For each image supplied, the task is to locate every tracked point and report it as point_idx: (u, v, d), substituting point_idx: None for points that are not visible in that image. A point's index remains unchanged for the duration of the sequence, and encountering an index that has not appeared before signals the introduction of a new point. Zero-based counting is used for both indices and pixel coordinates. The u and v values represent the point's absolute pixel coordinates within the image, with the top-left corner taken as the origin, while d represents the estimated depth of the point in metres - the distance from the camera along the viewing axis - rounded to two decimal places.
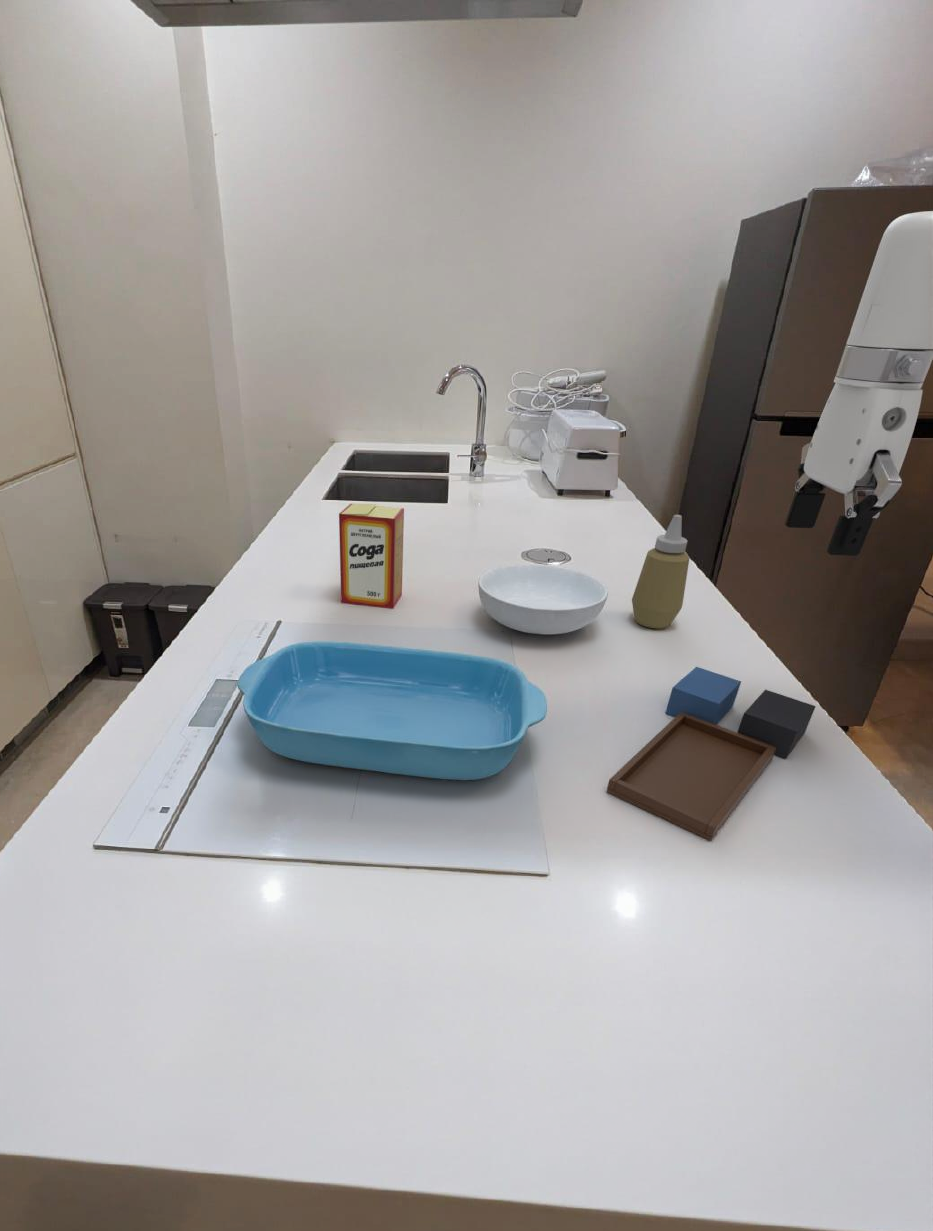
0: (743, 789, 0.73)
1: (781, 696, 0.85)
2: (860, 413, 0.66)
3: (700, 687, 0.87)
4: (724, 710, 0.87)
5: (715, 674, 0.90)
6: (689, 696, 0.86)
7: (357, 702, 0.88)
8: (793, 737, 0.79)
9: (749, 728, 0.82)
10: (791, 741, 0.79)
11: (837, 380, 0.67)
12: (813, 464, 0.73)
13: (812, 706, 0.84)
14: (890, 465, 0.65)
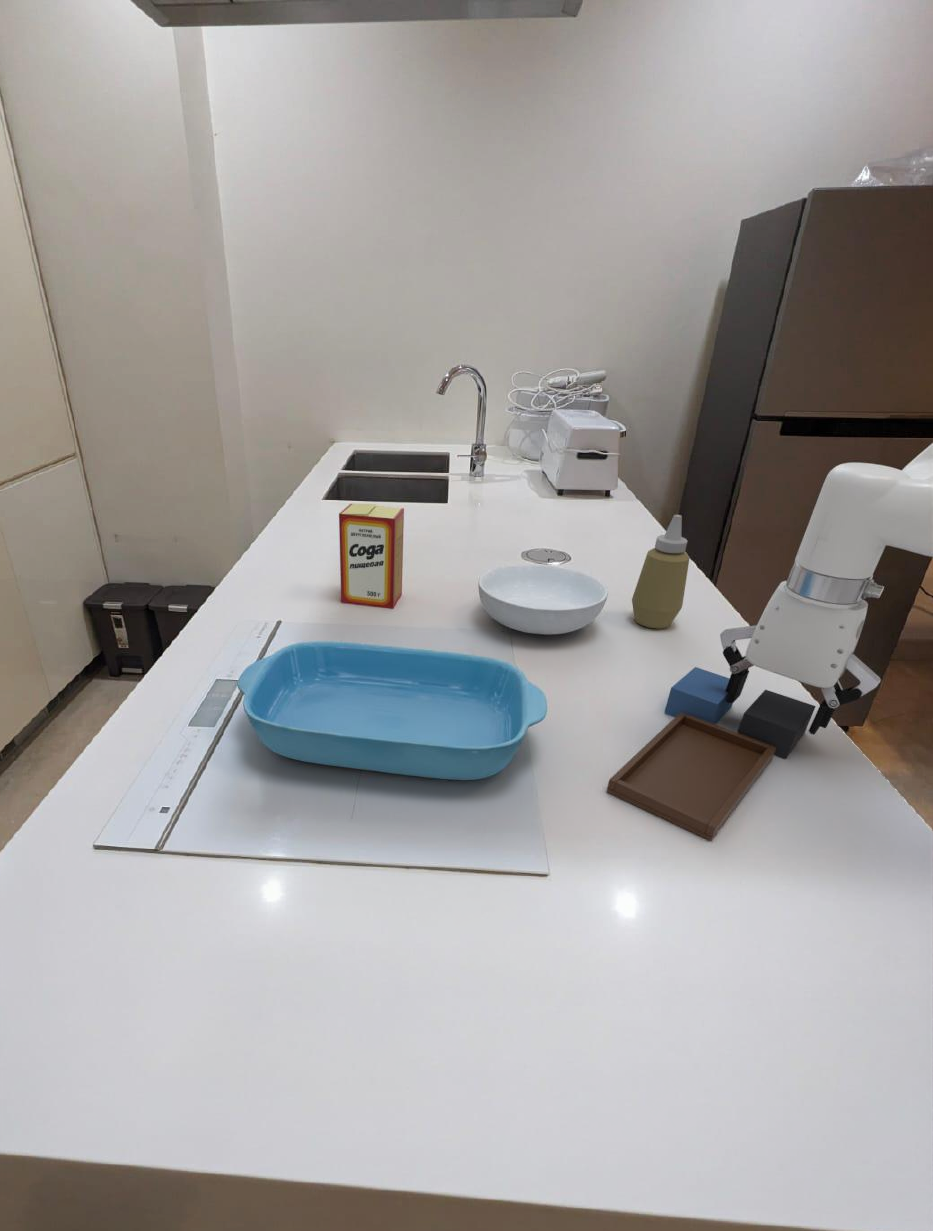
0: (743, 789, 0.73)
1: (781, 696, 0.85)
2: (837, 628, 0.73)
3: (699, 687, 0.87)
4: (723, 710, 0.88)
5: (714, 674, 0.90)
6: (687, 696, 0.86)
7: (357, 702, 0.88)
8: (793, 737, 0.79)
9: (749, 728, 0.82)
10: (791, 741, 0.79)
11: (809, 601, 0.73)
12: (768, 659, 0.79)
13: (812, 706, 0.84)
14: (864, 665, 0.75)
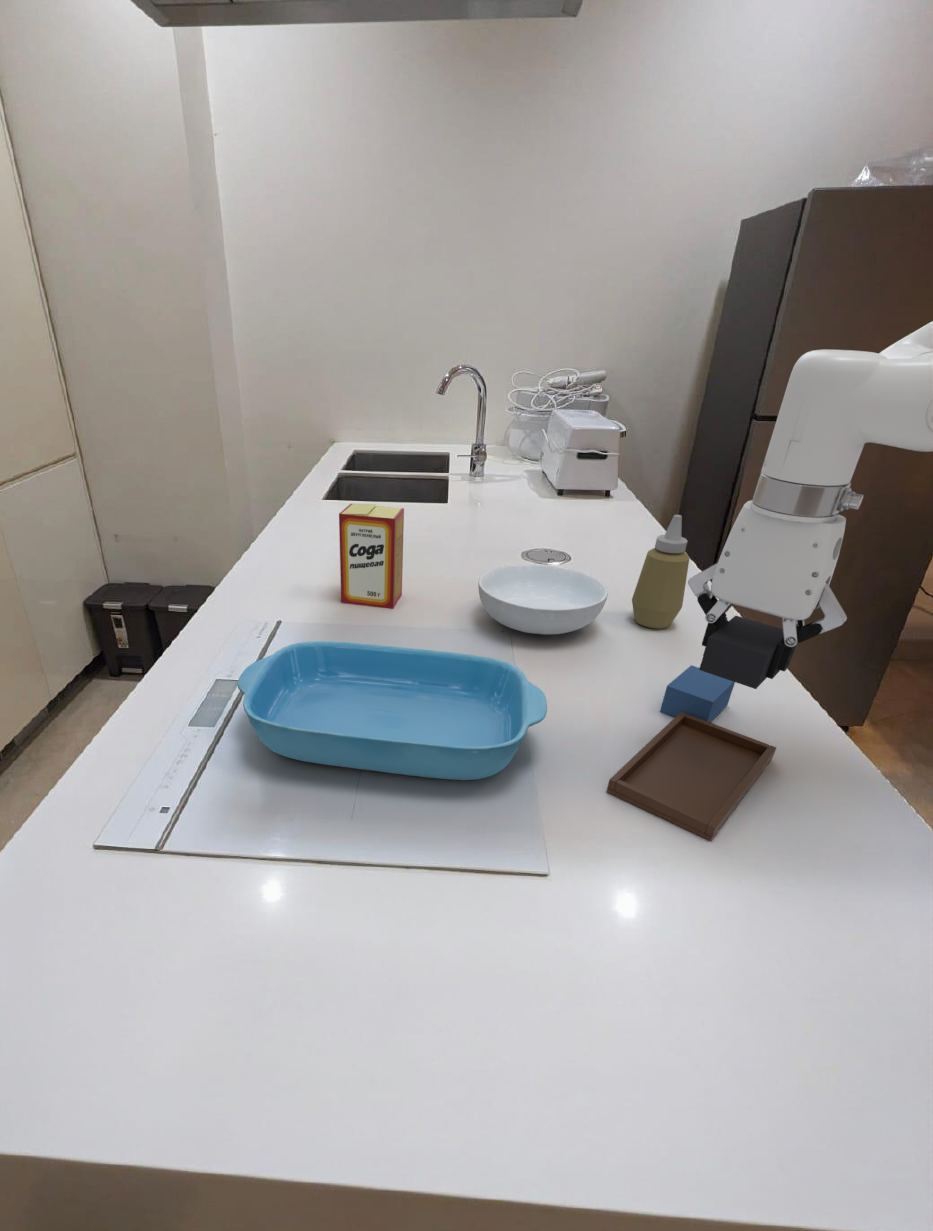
0: (743, 789, 0.73)
1: (753, 622, 0.75)
2: (811, 547, 0.63)
3: (695, 685, 0.87)
4: (718, 708, 0.88)
5: None
6: (683, 694, 0.86)
7: (357, 702, 0.88)
8: (764, 662, 0.68)
9: (715, 655, 0.72)
10: (762, 667, 0.69)
11: (777, 515, 0.63)
12: (735, 590, 0.69)
13: None
14: (834, 598, 0.66)
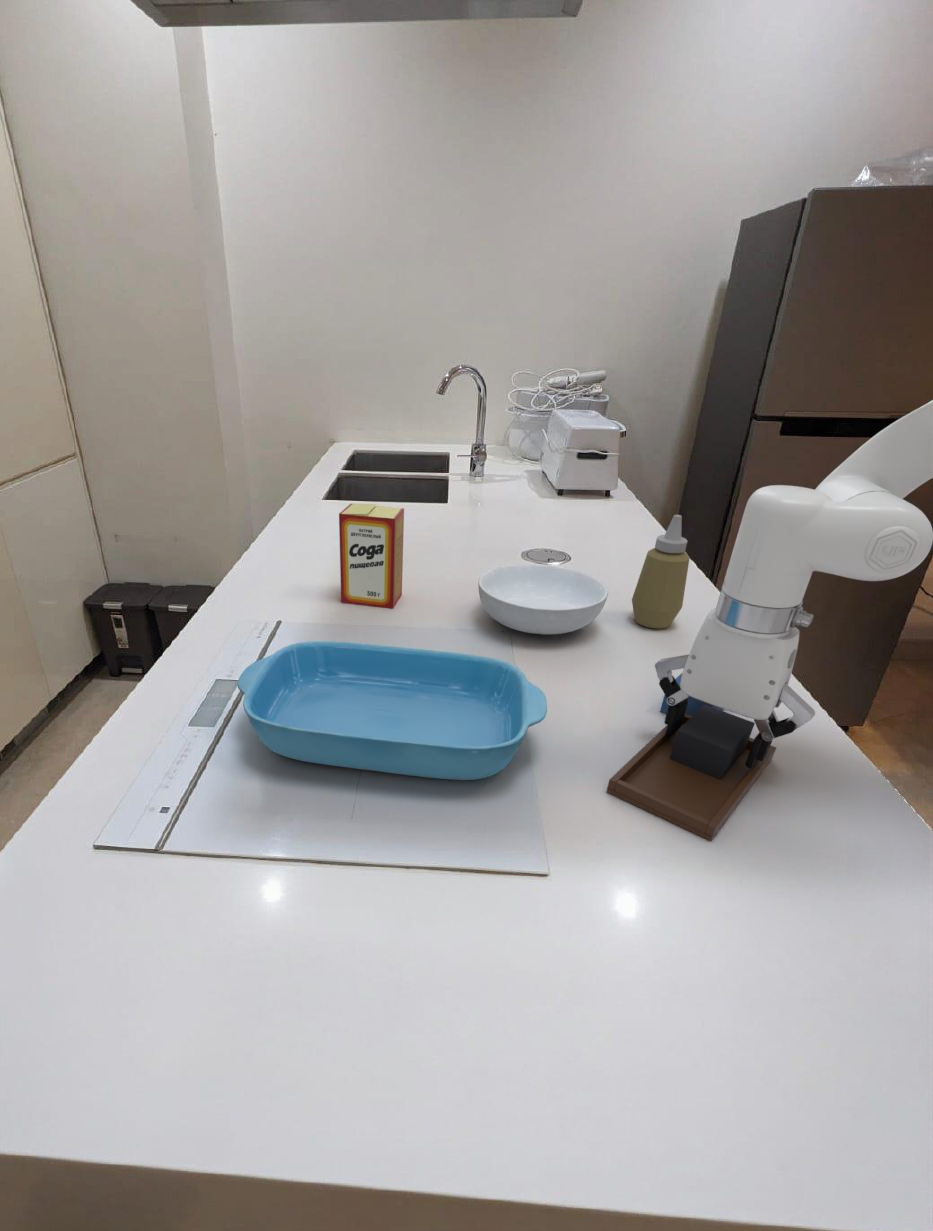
0: (743, 789, 0.73)
1: (719, 712, 0.81)
2: (767, 659, 0.69)
3: None
4: (718, 708, 0.88)
5: None
6: None
7: (357, 702, 0.88)
8: (727, 757, 0.74)
9: (683, 747, 0.77)
10: (725, 761, 0.75)
11: (736, 630, 0.69)
12: (702, 690, 0.75)
13: (751, 722, 0.79)
14: (798, 696, 0.71)
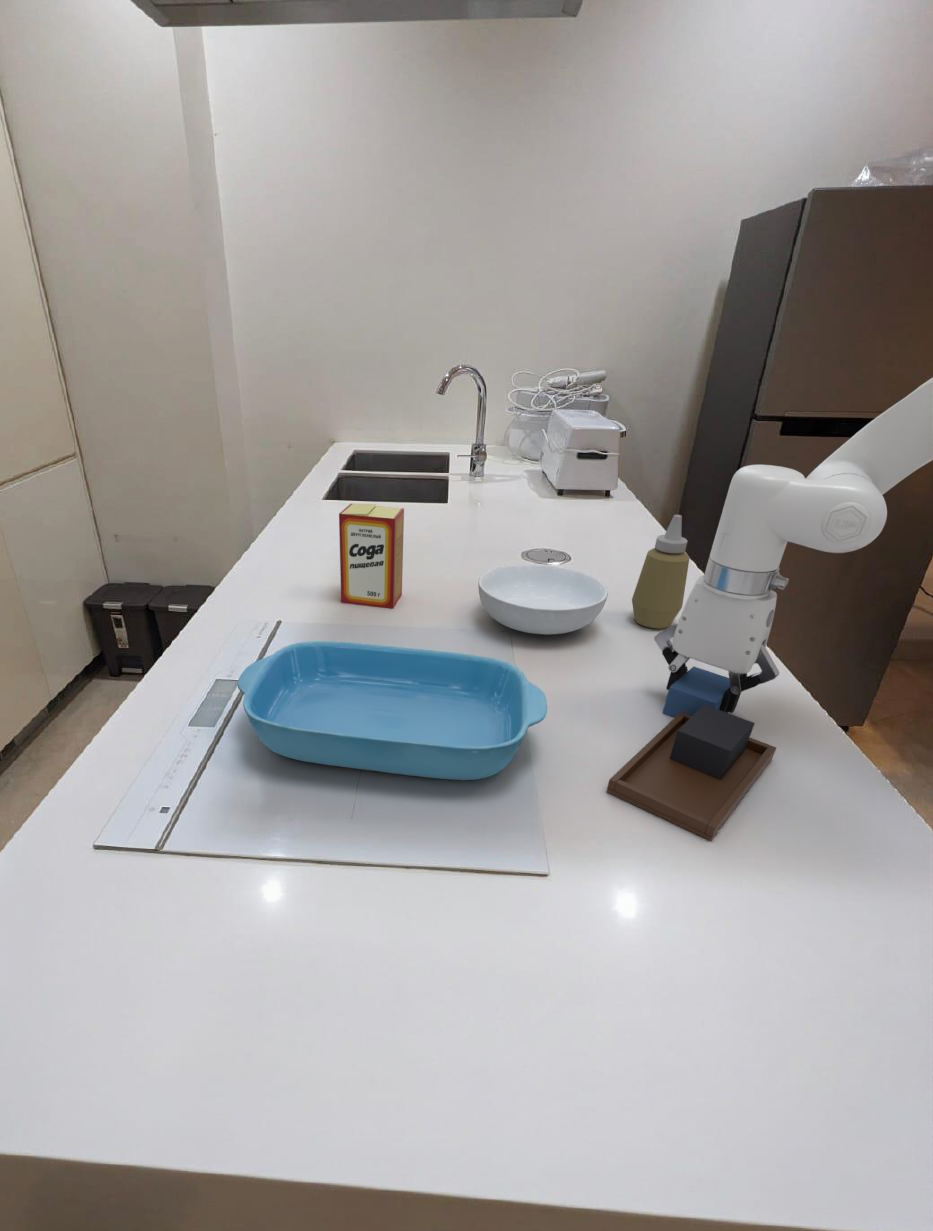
0: (743, 789, 0.73)
1: (719, 712, 0.81)
2: (748, 618, 0.79)
3: (697, 686, 0.87)
4: None
5: (712, 674, 0.90)
6: (686, 696, 0.86)
7: (357, 702, 0.88)
8: (727, 757, 0.74)
9: (683, 747, 0.77)
10: (725, 761, 0.75)
11: (721, 592, 0.78)
12: (691, 648, 0.85)
13: (751, 722, 0.79)
14: (769, 657, 0.81)
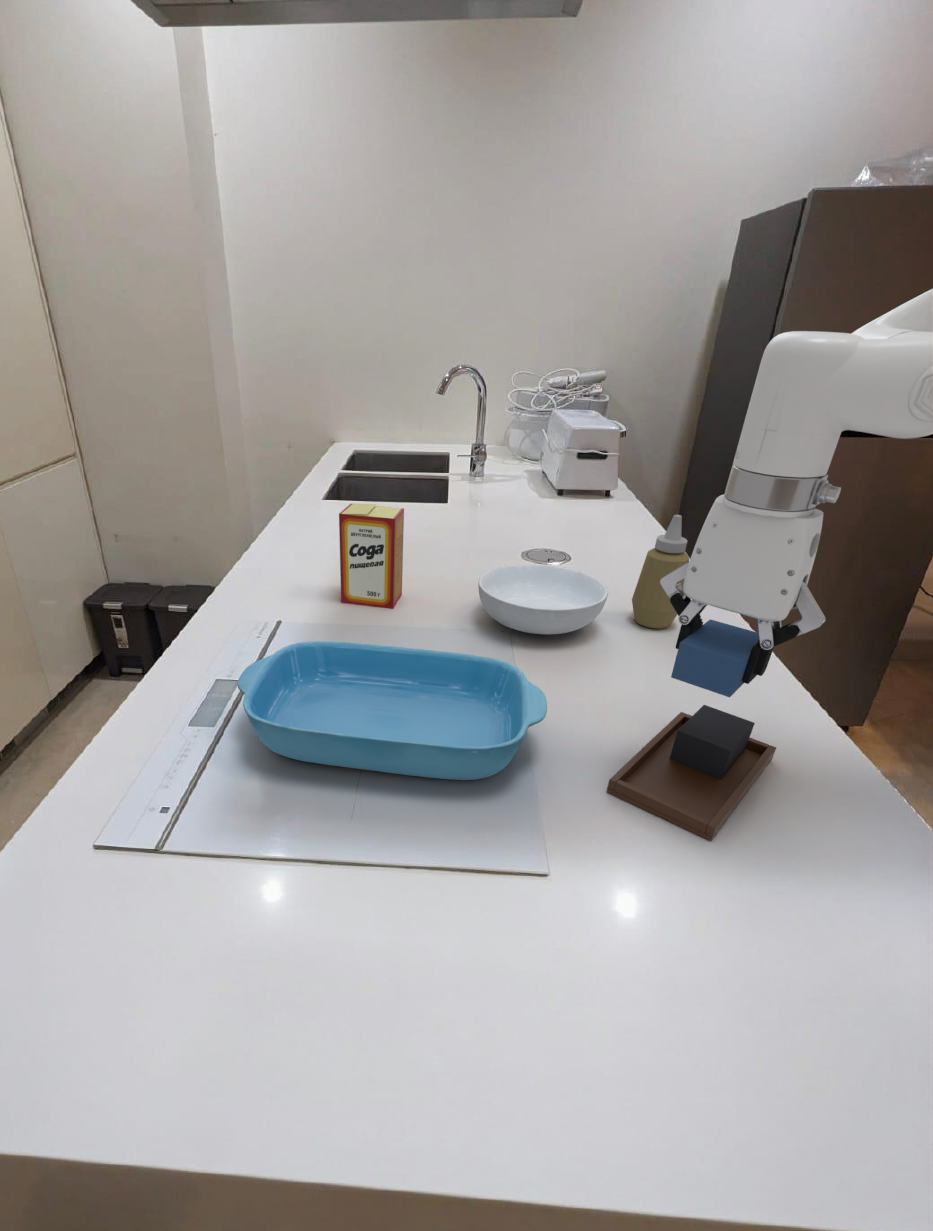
0: (743, 789, 0.73)
1: (719, 712, 0.81)
2: (786, 544, 0.59)
3: (716, 642, 0.67)
4: None
5: (734, 627, 0.70)
6: (701, 653, 0.66)
7: (357, 702, 0.88)
8: (727, 757, 0.74)
9: (683, 747, 0.77)
10: (725, 761, 0.75)
11: (749, 510, 0.59)
12: (708, 590, 0.65)
13: (751, 722, 0.79)
14: (812, 598, 0.62)
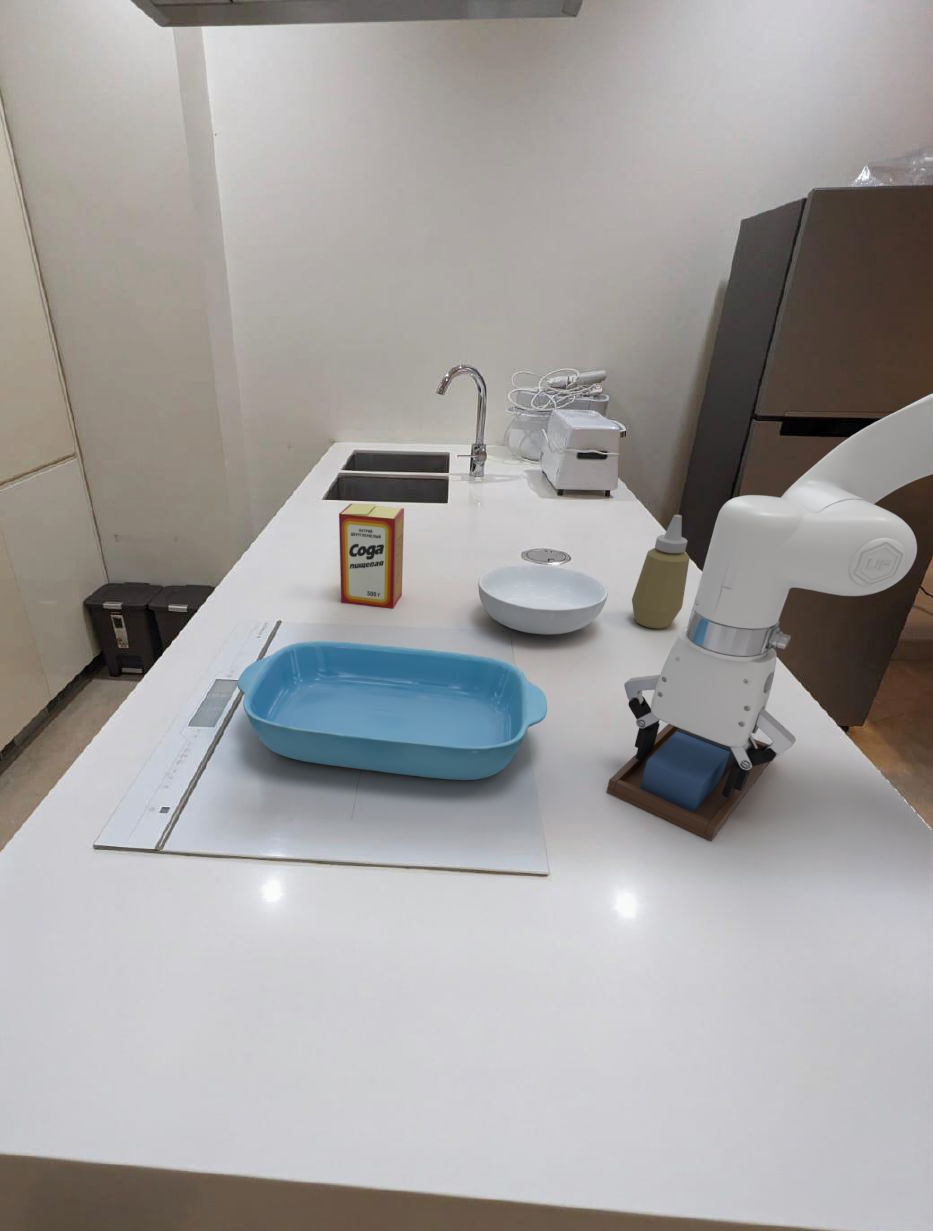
0: (743, 789, 0.73)
1: None
2: (742, 683, 0.64)
3: (681, 760, 0.72)
4: (709, 788, 0.72)
5: (699, 742, 0.75)
6: (666, 772, 0.71)
7: (357, 702, 0.88)
8: None
9: None
10: None
11: (707, 652, 0.63)
12: (673, 714, 0.70)
13: None
14: (776, 722, 0.65)
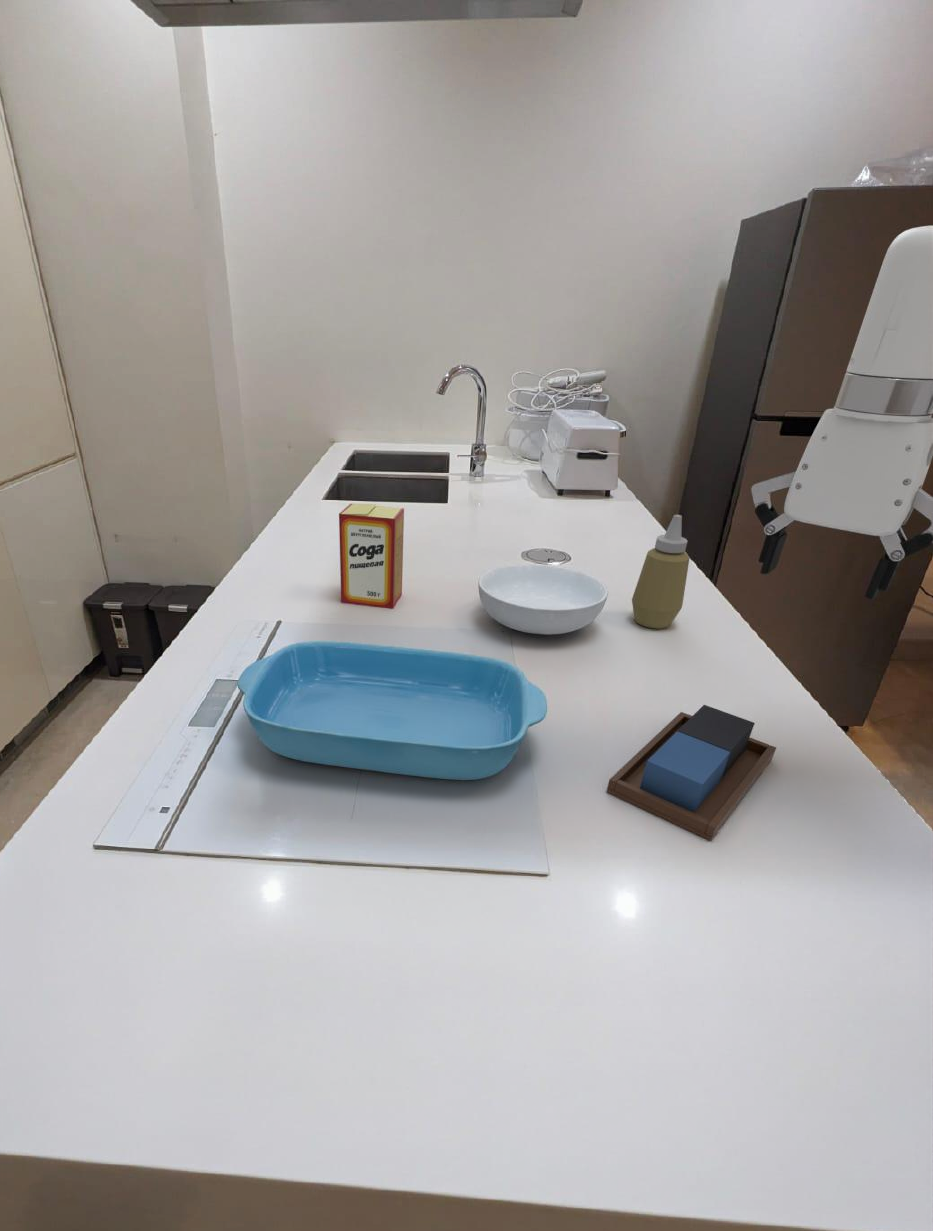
0: (743, 789, 0.73)
1: (719, 712, 0.81)
2: (903, 451, 0.58)
3: (681, 760, 0.72)
4: (709, 788, 0.72)
5: (699, 742, 0.75)
6: (666, 772, 0.71)
7: (357, 702, 0.88)
8: None
9: None
10: None
11: (866, 416, 0.58)
12: (813, 507, 0.64)
13: (751, 722, 0.79)
14: None
